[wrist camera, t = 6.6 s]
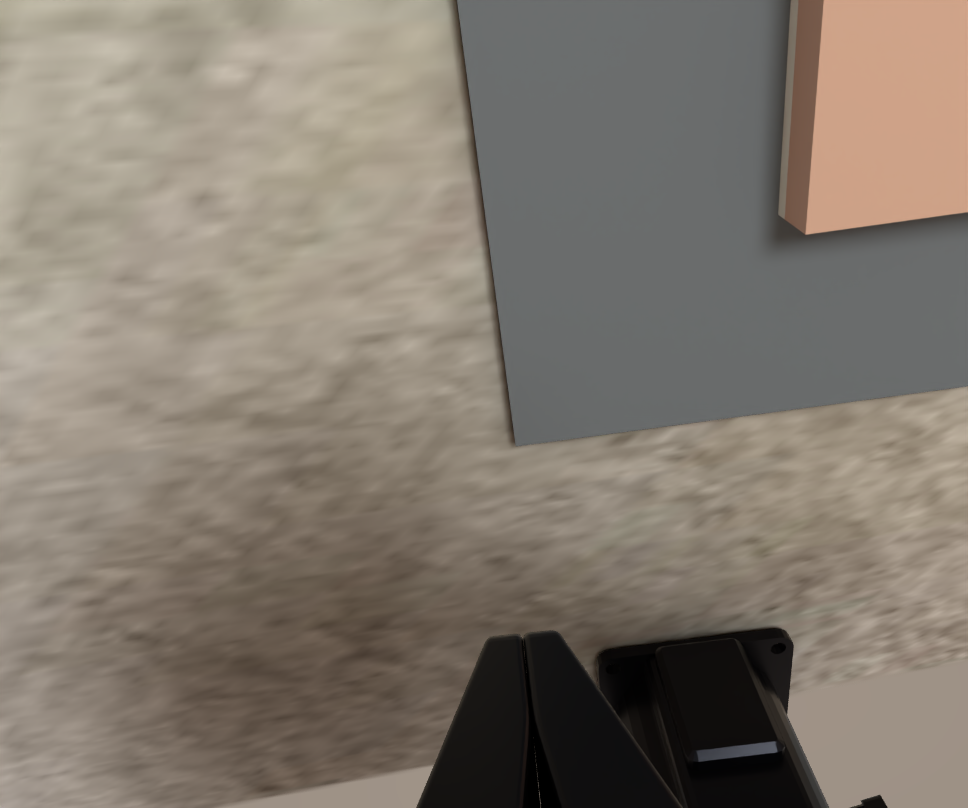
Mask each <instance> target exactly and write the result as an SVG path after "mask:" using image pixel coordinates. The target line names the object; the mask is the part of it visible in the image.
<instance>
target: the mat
mask: <svg viewBox="0 0 968 808" xmlns="http://www.w3.org/2000/svg"><path fill="white" fill-rule="evenodd" d="M457 5H458V12H459V20H460V28H461V35H462V43H463V50H464V58H465V66H466V73H467V81H468V88H469V96H470V104H471V111H472V119H473V126H474V134H475V142H476V149H477V157H478V164H479V172H480V180H481V187H482V195H483V202H484V210H485V218H486V225H487V233H488V240H489V248H490V255H491V263H492V271H493V278H494V286H495V293H496V301H497V309H498V316H499V324H500V331H501V339H502V347H503V354H504V362H505V369H506V377H507V385H508V392H509V400H510V407H511V415H512V423H513V430H514V438H515V444H516V446H522V445H530V444H537V443H545V442H552V441H560V440H567V439H575V438H583V437H590V436H598V435H605V434H613V433H620V432H628V431H635V430H643V429H650V428H658V427H665V426H673V425H680V424H688V423H695V422H703V421H710V420H718V419H725V418H733V417H740V416H748V415H756V414H763V413H771V412H778V411H786V410H793V409H801V408H808V407H816V406H823V405H831V404H838V403H846V402H853V401H861V400H868V399H876V398H883V397H891V396H898V395H906V394H913V393H921V392H928V391H936V390H944V389H951V388H959V387H966V386H968V212H965V213H958V214H950V215H943V216H936V217H929V218H922V219H915V220H907V221H900V222H893V223H886V224H879V225H871V226H864V227H857V228H850V229H843V230H836V231H828V232H821V233H814V234H807V235H805V234H804V233H803V232H801V231H800V230H798V229H797V228H796V227H794V226H793V225H792V224H790V223H789V222H788V221H786V220H785V219H783V218H782V217H781V216H779V215H778V209H779V192H780V175H781V158H782V141H783V124H784V107H785V90H786V73H787V56H788V39H789V22H790V5H791V0H457Z"/></svg>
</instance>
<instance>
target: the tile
mask: <svg viewBox="0 0 968 808" xmlns="http://www.w3.org/2000/svg"><path fill="white" fill-rule="evenodd" d="M965 212H968V0H791V5H790V22H789V39H788V56H787V73H786V90H785V107H784V124H783V141H782V158H781V175H780V192H779V209H778V215H779V216H781V217H782V218H783V219H785V220H786V221H788V222H789V223H790V224H792V225H793V226H794V227H796V228H797V229H798V230H800V231H801V232H803V233H804V234H805V235H807V234H814V233H821V232H828V231H836V230H843V229H850V228H857V227H864V226H871V225H879V224H886V223H893V222H900V221H907V220H915V219H922V218H929V217H936V216H943V215H950V214H958V213H965Z"/></svg>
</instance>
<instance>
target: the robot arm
mask: <svg viewBox="0 0 968 808" xmlns="http://www.w3.org/2000/svg"><path fill="white" fill-rule="evenodd" d="M523 643H524V646H523ZM777 643H778V644H777ZM793 647H794V646H793V642H792V640H791V638H790V636H789V634H788V633H787V632H786V631H785V630H782V629H768V630H760V631H752V632H744V633H736V634H728V635H720V636H712V637H704V638H696V639H688V640H680V641H672V642H664V643H656V644H648V645H640V646H632V647H624V648H616V649H609V650H606V651H603V652H602V653H600V654H599V656H598V657H597V660H596V665H597V676H598V687H597V685H596V684H595V683H594V681H593V680H592V678H591V677H590V675H589V674H588V673H587V671H586V670H585V668H584V667H583V666H582V664H581V663H580V661H579V660H578V658H577V657H576V656H575V654H574V653H573V651H572V650H571V649H570V647H569V646H568V644H567V643H566V641H565V640H564V639H563V637H562V636H561V635H560V634H559V633H558V632H557V631H555V630H550V631H540V632H530V633H527V634H525V635H524V638H523V639H522V637H521V636H520V635H518V634H510V635H500V636H492V637H489V638H488V639H487V641H486V642H485V644H484V646H483V649H482V651H481V653H480V656H479V658H478V661H477V663H476V665H475V668H474V670H473V673H472V675H471V677H470V680H469V682H468V685H467V687H466V690H465V692H464V694H463V697H462V699H461V702H460V704H459V706H458V709H457V711H456V714H455V716H454V718H453V721H452V723H451V726H450V728H449V730H448V733H447V735H446V738H445V740H444V742H443V745H442V747H441V750H440V752H439V754H438V757H437V759H436V762H435V764H434V767H433V769H432V771H431V774H430V776H429V779H428V781H427V783H426V786H425V788H424V791H423V793H422V795H421V798H420V800H419V803H418V805H417V807H416V808H829V806H828V804H827V802H826V800H825V797H824V795H823V793H822V791H821V789H820V787H819V784H818V782H817V780H816V778H815V776H814V773H813V771H812V769H811V767H810V765H809V762H808V760H807V758H806V756H805V754H804V752H803V749H802V747H801V745H800V743H799V740H798V738H797V736H796V734H795V732H794V729H793V727H792V725H791V723H790V721H789V719H788V717H787V710H788V699H789V689H790V679H791V668H792V658H793ZM524 652H525V655H524ZM525 662H526V664H525ZM610 664H613V665H610ZM526 672H527V673H526ZM533 737H534V738H533ZM534 747H535V748H534ZM535 756H536V757H535ZM536 765H537V767H536ZM537 774H538V777H537ZM538 783H539V787H538ZM539 793H540V797H539ZM540 802H541V806H540ZM861 802H862V804H861V805H857V806H854V807H851V808H887V806H886V804H885V802H884V801H883V799H882V797H881V796H880V795H877V796H874V797H871V798H867V799H864V800H862V801H861Z"/></svg>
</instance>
